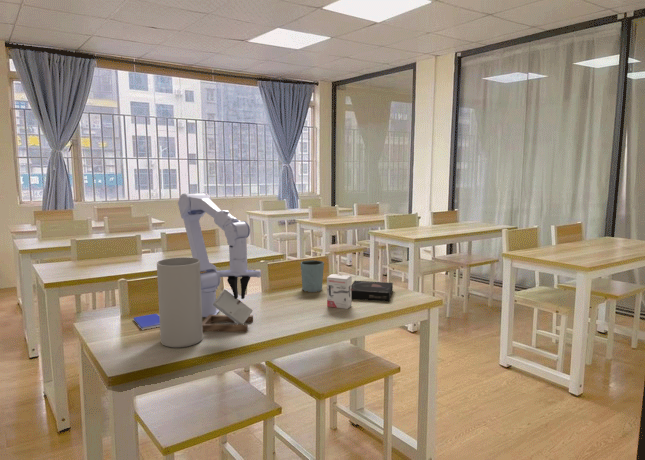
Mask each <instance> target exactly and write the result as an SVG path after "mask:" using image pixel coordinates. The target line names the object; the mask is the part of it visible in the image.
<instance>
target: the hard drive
mask: <svg viewBox="0 0 645 460" xmlns="http://www.w3.org/2000/svg"><path fill="white" fill-rule="evenodd" d="M133 319H134V320H133ZM133 319H132V320H133V322H134V321H135V322H136V323H137V324H138V325H137V324H136V323H135V322H134V323H135V324H136V325H137V327H139V329H140V328H141V329H142V330H141V329H140V330H141V331H145V330H144V329H147V330H151V328H152V329H156V327H157V328H160V317H159V314H157V313H153V314H152V313H151V314H146V315H141V316H140V315H139V316H136V317H133Z"/></svg>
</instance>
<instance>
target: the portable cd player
mask: <svg viewBox="0 0 645 460" xmlns="http://www.w3.org/2000/svg"><path fill="white" fill-rule="evenodd" d="M393 285H394V282H384V281H370V280H369V281H366V280H365V281H364V280H354V281H353V282H352V283H351V300H358V301H359V300H360V301H373V302H375V301H376V302H387V303H388V302H390V300H391V296H392V293H393V289H394V287H393Z"/></svg>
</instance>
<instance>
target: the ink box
mask: <svg viewBox="0 0 645 460" xmlns="http://www.w3.org/2000/svg"><path fill="white" fill-rule="evenodd" d="M352 283H353V282H352V276H351V275H345V274H336V273H332V274H329V275H328V276H327V277H326V306H327V307H329V308H336V309H337V308H338V309H346V310H347V309H349V308H350V307H352V299H351V285H352Z"/></svg>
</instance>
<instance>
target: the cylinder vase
mask: <svg viewBox="0 0 645 460" xmlns="http://www.w3.org/2000/svg"><path fill="white" fill-rule="evenodd" d="M200 273H201V272H200V260H199V259H196V258H193V257H183V256H182V257H172V258H171V257H170V258H165V259H161V260H158V261H156V275H157V276H156V277H157V292H158V313H159V314H158V316H159V317H160V327H159V333H160V342H161V344H162V345H163V346H165V347H168V348H175V349H176V348H186V347H190V346H194V345H196V344H199V343H200V342H201V341H202V340H203V337H204V335H203V334H204V333H203V332H204V331H203V328H202V322H203V317H202V301H201V275H200Z"/></svg>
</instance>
